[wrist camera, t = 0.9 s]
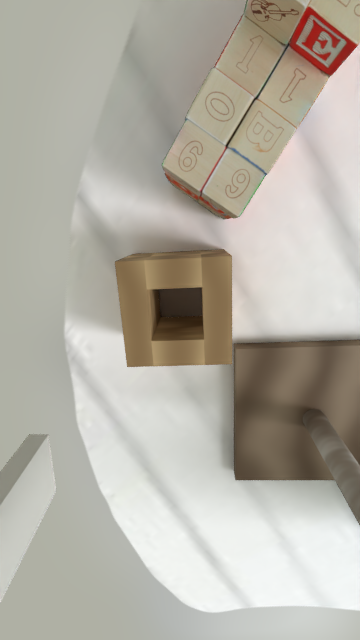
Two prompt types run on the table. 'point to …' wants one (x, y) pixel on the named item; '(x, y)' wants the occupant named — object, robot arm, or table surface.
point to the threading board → (299, 413)
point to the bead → (183, 331)
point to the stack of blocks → (258, 97)
